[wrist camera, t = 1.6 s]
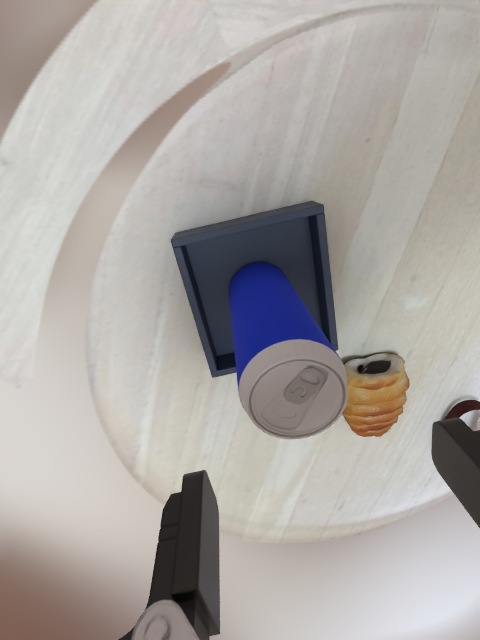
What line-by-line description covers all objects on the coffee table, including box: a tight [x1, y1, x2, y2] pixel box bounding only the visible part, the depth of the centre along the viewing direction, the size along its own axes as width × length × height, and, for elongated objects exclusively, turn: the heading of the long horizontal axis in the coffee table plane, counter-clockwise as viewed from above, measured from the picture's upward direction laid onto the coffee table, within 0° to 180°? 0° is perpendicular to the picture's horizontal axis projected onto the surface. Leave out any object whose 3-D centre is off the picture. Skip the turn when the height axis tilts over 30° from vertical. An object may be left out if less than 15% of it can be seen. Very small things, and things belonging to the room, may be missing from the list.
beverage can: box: [229, 262, 348, 439], centre depth 22 cm, size 5×5×15 cm
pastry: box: [343, 353, 409, 437], centre depth 33 cm, size 9×7×4 cm
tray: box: [171, 201, 338, 377], centre depth 27 cm, size 12×11×3 cm
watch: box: [445, 400, 480, 431], centre depth 35 cm, size 8×5×4 cm, turn 5°
